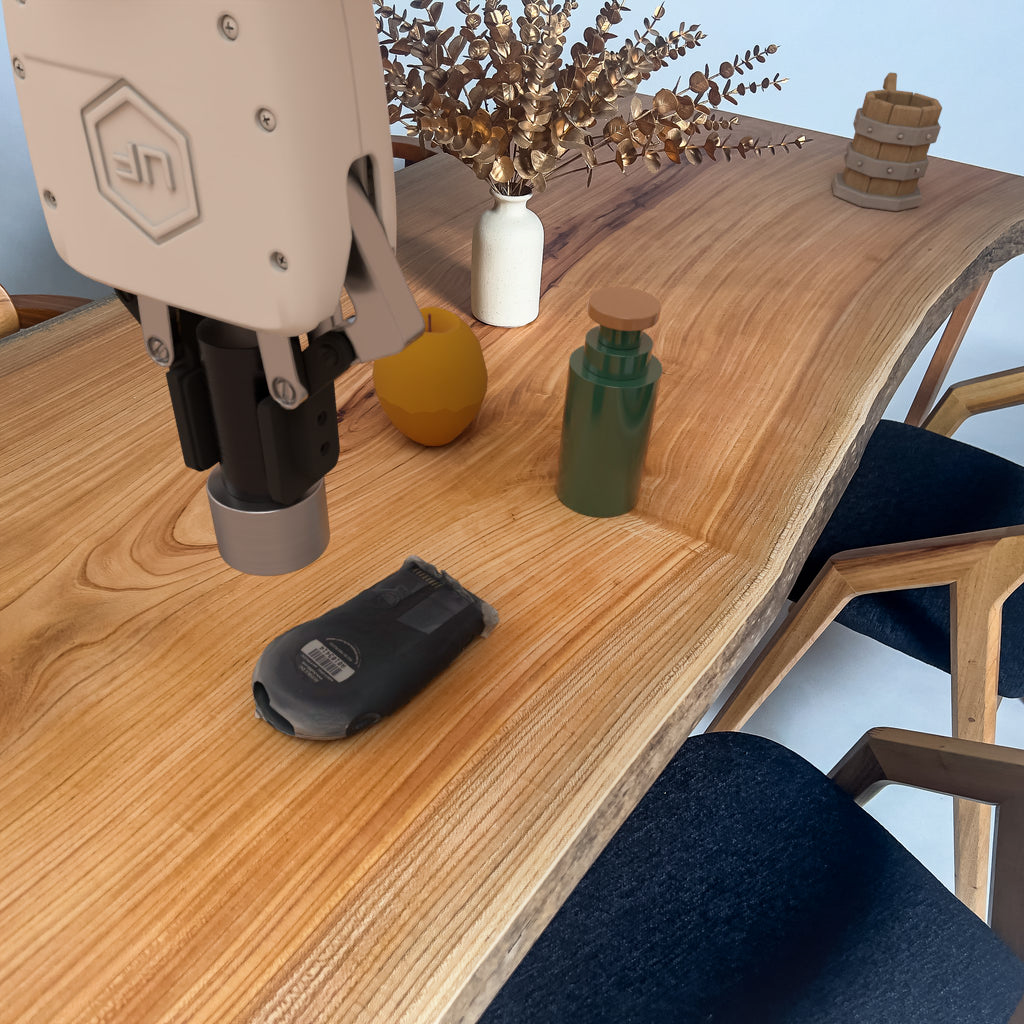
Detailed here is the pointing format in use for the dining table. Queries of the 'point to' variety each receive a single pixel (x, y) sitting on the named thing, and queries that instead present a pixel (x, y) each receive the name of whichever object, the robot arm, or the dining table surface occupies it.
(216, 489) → the torch
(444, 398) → the apple
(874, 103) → the tankard
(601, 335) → the bottle
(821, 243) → the dining table surface
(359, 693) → the electronic device
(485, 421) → the dining table surface
